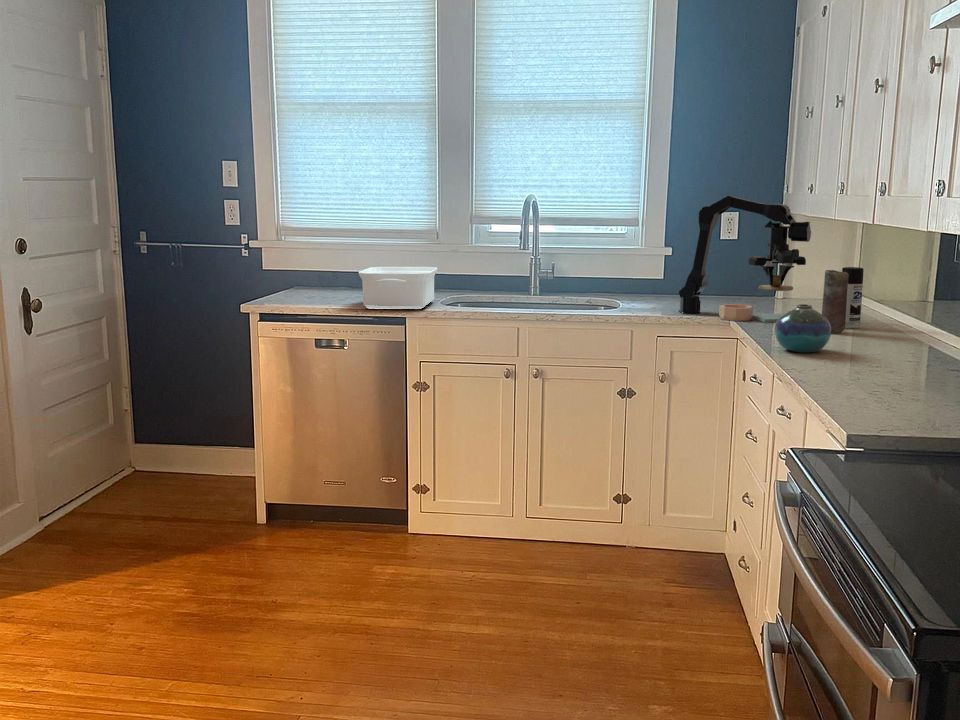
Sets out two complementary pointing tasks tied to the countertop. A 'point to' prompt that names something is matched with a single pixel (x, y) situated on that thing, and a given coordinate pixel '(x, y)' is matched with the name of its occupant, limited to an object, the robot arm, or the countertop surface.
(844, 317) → the candle
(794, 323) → the vase
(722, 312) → the bowl
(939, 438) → the countertop surface
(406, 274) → the white storage tub
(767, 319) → the mat
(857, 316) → the spray can
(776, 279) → the lid
